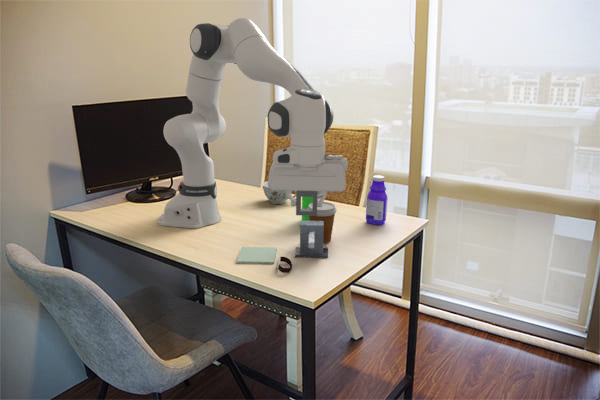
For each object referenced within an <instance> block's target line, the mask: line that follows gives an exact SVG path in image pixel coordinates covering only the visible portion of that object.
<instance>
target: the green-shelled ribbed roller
mask: <svg viewBox="0 0 600 400" xmlns="http://www.w3.org/2000/svg"><path fill="white" fill-rule="evenodd" d="M321 197H322V191H317V199H320V198H321ZM323 202H325V199H324V200H323ZM311 203H313V197H301V209H307V208H308V206H309V204H311ZM301 221H309V216H304V215H301Z"/></svg>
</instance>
